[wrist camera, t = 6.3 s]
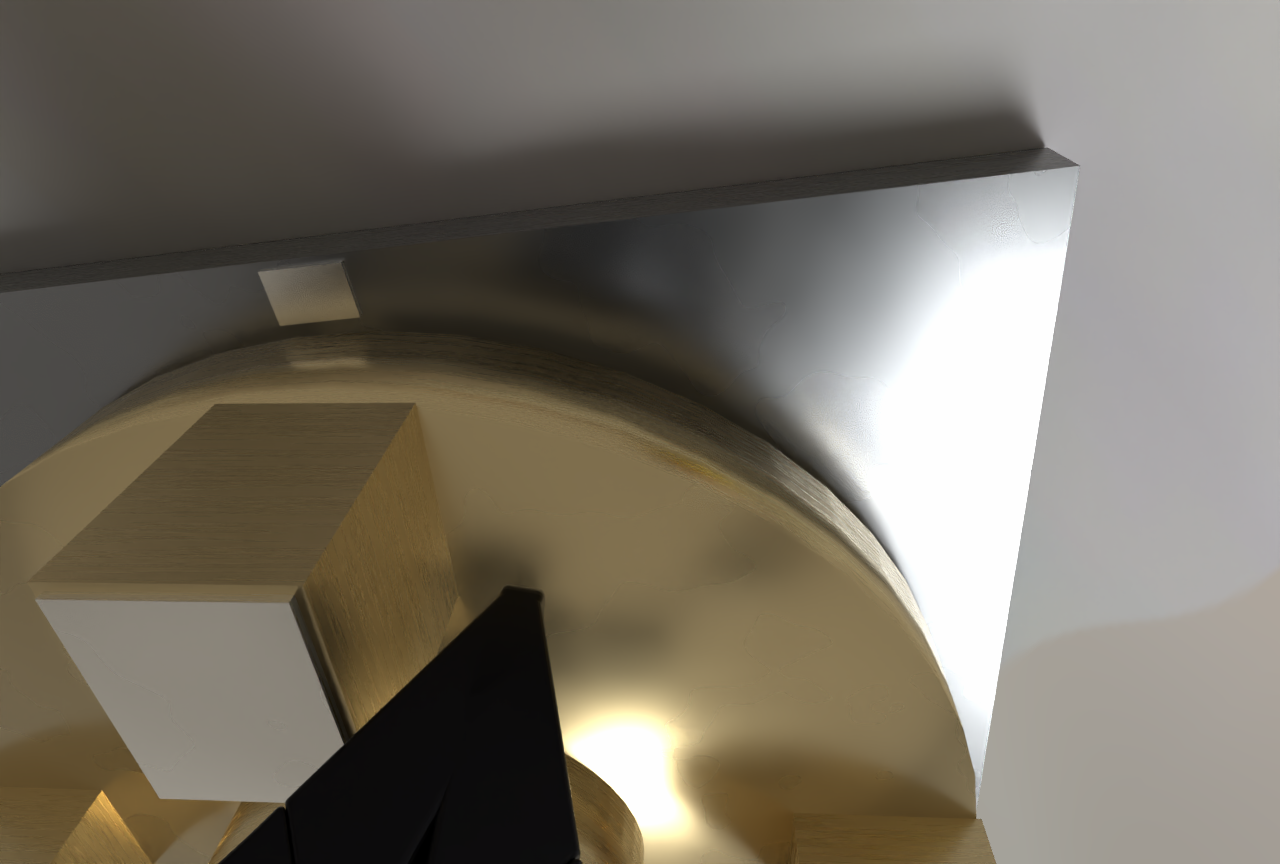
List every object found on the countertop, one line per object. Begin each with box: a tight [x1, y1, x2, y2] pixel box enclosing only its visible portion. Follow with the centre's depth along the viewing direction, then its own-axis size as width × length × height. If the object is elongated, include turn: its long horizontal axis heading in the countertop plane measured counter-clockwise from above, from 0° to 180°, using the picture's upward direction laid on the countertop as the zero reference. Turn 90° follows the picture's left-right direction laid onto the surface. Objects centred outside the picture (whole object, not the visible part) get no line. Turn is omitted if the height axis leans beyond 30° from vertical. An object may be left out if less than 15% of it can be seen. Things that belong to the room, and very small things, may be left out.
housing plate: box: [0, 148, 1080, 809], centre depth 16 cm, size 20×20×1 cm
